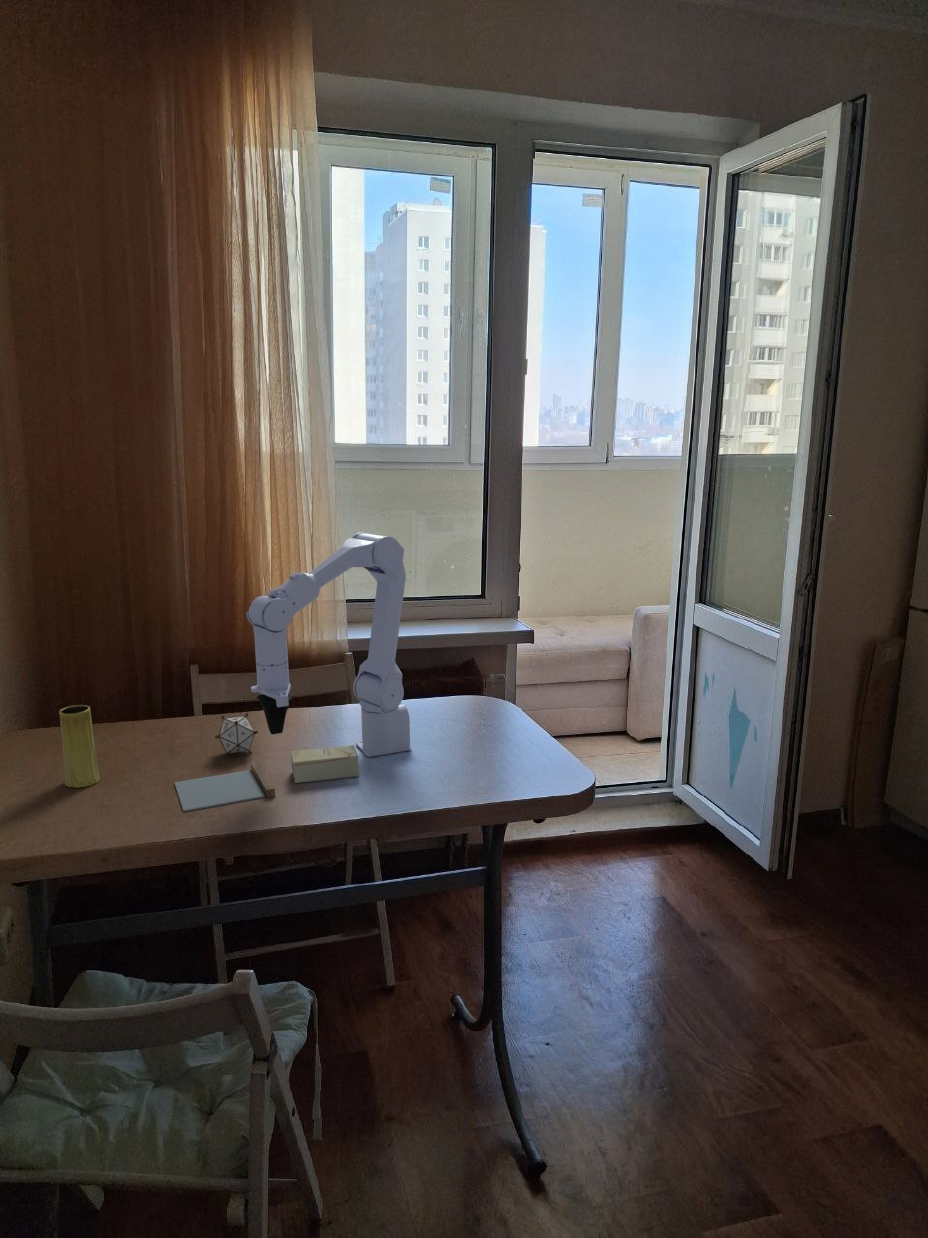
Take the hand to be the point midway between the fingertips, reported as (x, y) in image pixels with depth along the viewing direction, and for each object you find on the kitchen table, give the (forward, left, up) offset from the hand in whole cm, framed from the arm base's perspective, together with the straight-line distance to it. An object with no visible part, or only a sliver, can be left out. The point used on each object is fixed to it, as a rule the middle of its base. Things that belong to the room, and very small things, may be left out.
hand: (276, 732), depth 161 cm
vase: (+34, -15, -10) cm, 38 cm away
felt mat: (+11, 0, -9) cm, 14 cm away
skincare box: (-2, 0, -7) cm, 8 cm away
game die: (+4, -17, -10) cm, 20 cm away
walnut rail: (+3, 0, -9) cm, 10 cm away
